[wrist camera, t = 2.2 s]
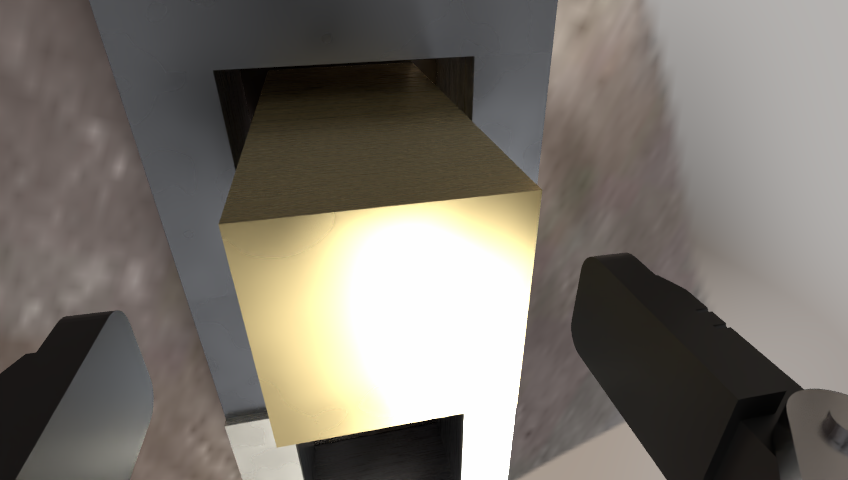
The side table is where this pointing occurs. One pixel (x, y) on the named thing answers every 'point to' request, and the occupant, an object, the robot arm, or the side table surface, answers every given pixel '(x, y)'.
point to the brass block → (377, 253)
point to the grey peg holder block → (222, 146)
